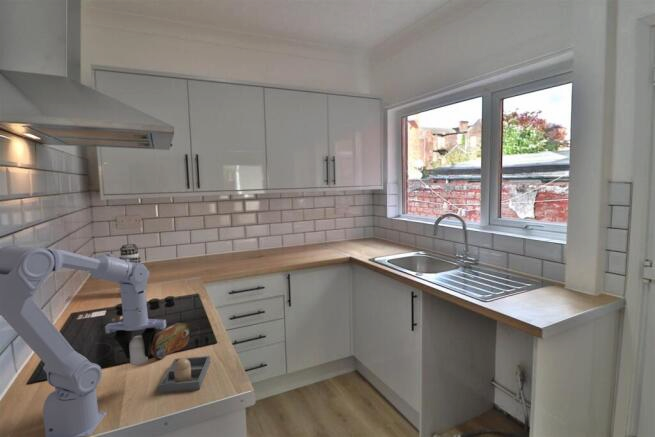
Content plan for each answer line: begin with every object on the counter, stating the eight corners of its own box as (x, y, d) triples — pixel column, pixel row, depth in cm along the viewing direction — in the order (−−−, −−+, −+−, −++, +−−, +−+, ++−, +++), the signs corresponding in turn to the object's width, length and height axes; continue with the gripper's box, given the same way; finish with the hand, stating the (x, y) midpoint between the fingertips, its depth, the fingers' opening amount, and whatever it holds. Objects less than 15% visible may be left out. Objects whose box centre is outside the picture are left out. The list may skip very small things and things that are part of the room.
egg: (127, 365, 93) (125, 340, 92) (134, 357, 97) (132, 333, 96) (144, 364, 93) (142, 339, 93) (150, 356, 98) (148, 332, 97)
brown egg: (173, 388, 94) (171, 363, 93) (177, 379, 98) (176, 356, 98) (189, 386, 95) (187, 362, 94) (193, 378, 99) (191, 354, 98)
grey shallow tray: (159, 394, 92) (158, 385, 92) (175, 367, 106) (174, 358, 106) (199, 390, 94) (199, 381, 93) (210, 364, 107) (209, 355, 107)
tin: (156, 364, 108) (154, 337, 107) (149, 362, 109) (147, 336, 108) (192, 342, 122) (190, 319, 121) (185, 341, 123) (183, 318, 122)
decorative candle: (117, 297, 172) (113, 246, 169) (130, 291, 181) (126, 243, 178) (135, 297, 171) (130, 246, 168) (147, 291, 180) (143, 243, 177)
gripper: (168, 299, 98) (171, 346, 100) (112, 303, 96) (116, 350, 98) (159, 309, 91) (163, 359, 93) (99, 313, 90) (104, 363, 91)
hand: (138, 355), depth 95 cm, fingers closed on egg, 4 cm apart
